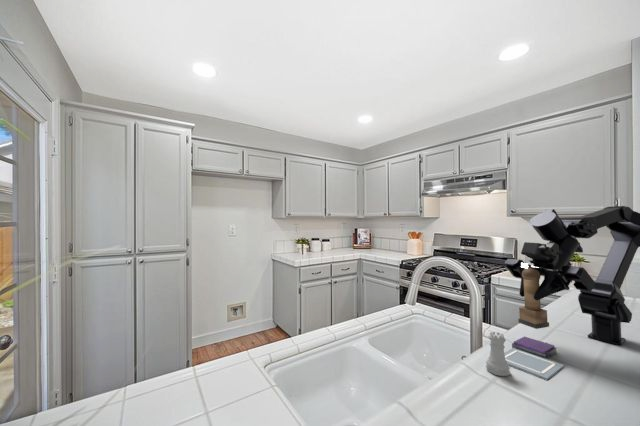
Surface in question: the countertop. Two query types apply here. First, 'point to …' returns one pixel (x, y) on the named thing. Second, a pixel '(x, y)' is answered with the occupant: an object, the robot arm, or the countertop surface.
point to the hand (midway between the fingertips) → (527, 297)
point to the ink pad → (534, 347)
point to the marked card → (532, 363)
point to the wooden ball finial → (532, 301)
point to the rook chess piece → (497, 356)
